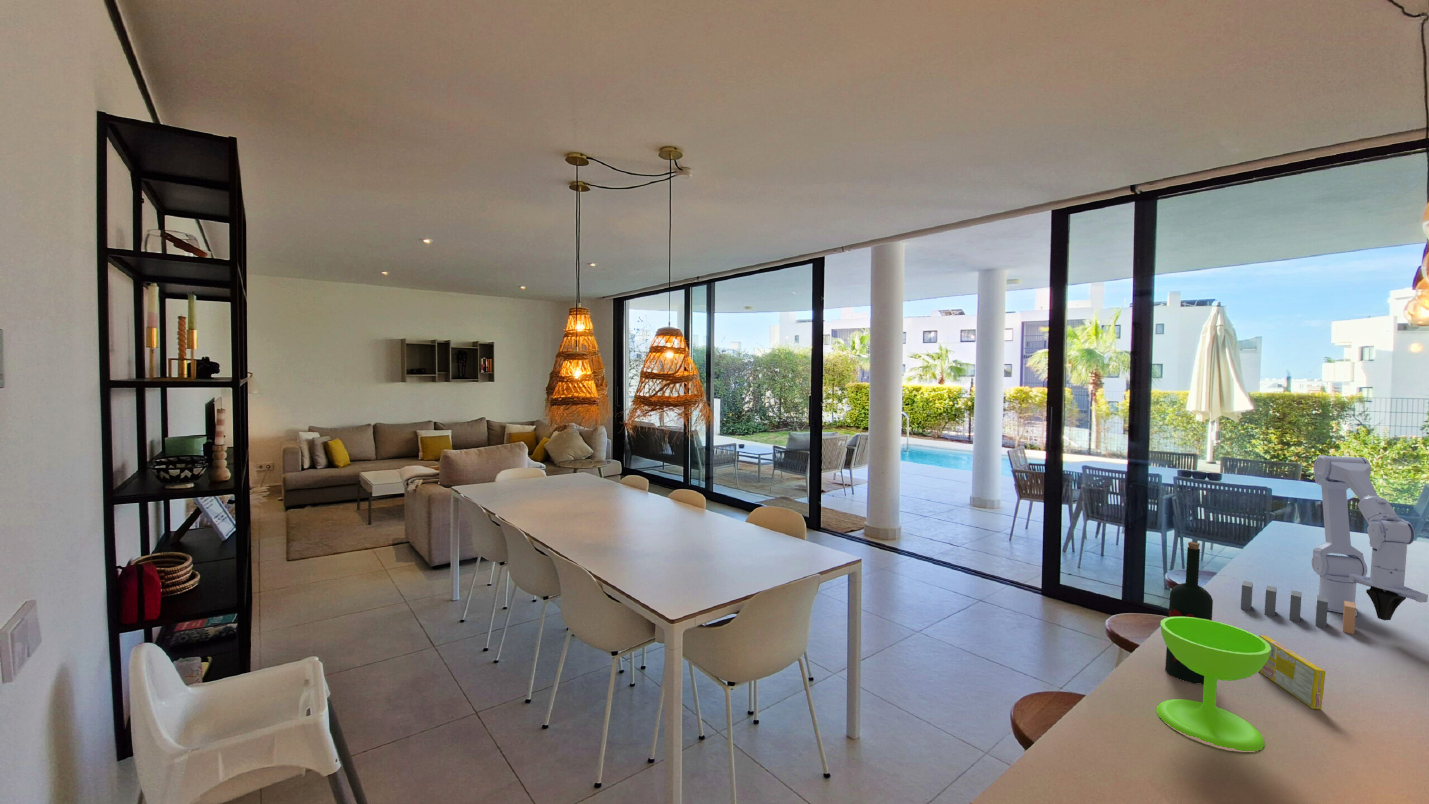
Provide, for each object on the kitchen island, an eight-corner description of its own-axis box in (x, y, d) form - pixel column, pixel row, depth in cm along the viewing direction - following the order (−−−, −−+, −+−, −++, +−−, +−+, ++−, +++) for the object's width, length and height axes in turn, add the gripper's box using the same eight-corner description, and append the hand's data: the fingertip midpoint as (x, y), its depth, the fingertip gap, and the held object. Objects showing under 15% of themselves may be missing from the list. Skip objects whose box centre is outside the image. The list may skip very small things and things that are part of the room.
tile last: (1242, 603, 171) (1243, 580, 171) (1251, 606, 170) (1252, 582, 169) (1240, 608, 168) (1242, 584, 167) (1250, 610, 166) (1251, 586, 166)
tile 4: (1265, 609, 167) (1267, 585, 167) (1275, 611, 166) (1276, 587, 166) (1264, 614, 164) (1265, 589, 164) (1274, 616, 163) (1275, 591, 162)
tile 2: (1315, 620, 160) (1317, 595, 160) (1326, 622, 159) (1327, 597, 158) (1315, 625, 157) (1317, 600, 156) (1326, 627, 155) (1328, 602, 155)
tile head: (1342, 625, 157) (1344, 600, 156) (1353, 628, 155) (1355, 602, 155) (1342, 631, 153) (1344, 605, 153) (1354, 634, 152) (1356, 607, 151)
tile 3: (1290, 614, 164) (1291, 590, 163) (1300, 616, 162) (1301, 592, 162) (1289, 619, 160) (1290, 594, 160) (1299, 621, 159) (1301, 596, 159)
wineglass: (1290, 753, 104) (1297, 655, 103) (1199, 752, 104) (1205, 653, 103) (1214, 702, 120) (1219, 616, 119) (1136, 701, 120) (1140, 615, 119)
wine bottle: (1155, 674, 130) (1161, 543, 129) (1172, 662, 136) (1178, 535, 134) (1199, 691, 124) (1206, 552, 122) (1215, 677, 130) (1222, 544, 128)
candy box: (1324, 710, 117) (1326, 670, 117) (1311, 709, 118) (1314, 669, 117) (1265, 670, 133) (1267, 634, 133) (1254, 669, 134) (1256, 633, 133)
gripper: (1439, 576, 142) (1435, 630, 143) (1365, 557, 157) (1362, 606, 157) (1415, 577, 141) (1411, 632, 142) (1343, 558, 156) (1340, 607, 156)
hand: (1384, 618), depth 150 cm, fingers closed
